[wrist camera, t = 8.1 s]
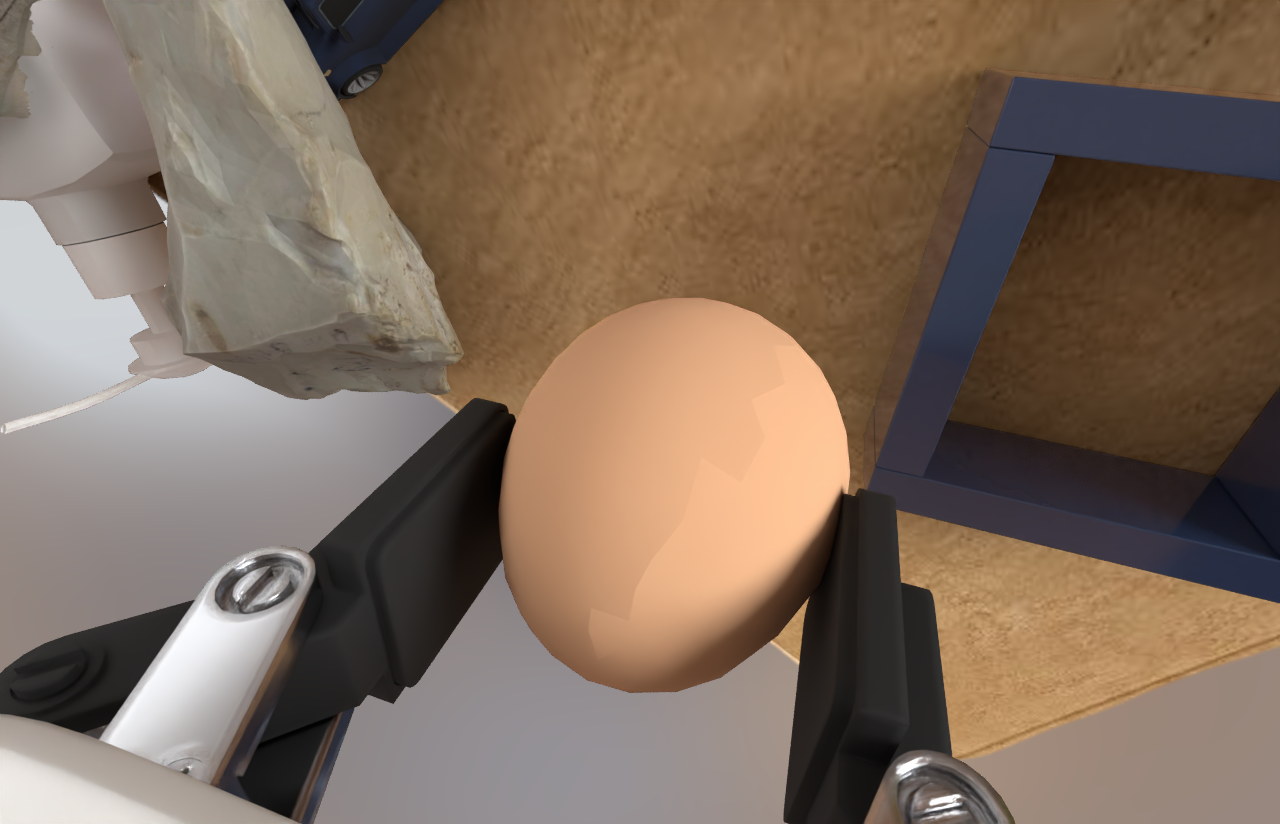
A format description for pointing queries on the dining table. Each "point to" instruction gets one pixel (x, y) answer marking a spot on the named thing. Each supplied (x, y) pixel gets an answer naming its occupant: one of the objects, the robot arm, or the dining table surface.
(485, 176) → the dining table surface
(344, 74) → the toy car
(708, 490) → the egg
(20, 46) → the fish
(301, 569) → the robot arm
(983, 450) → the container
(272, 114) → the stone
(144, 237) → the soap bottle
